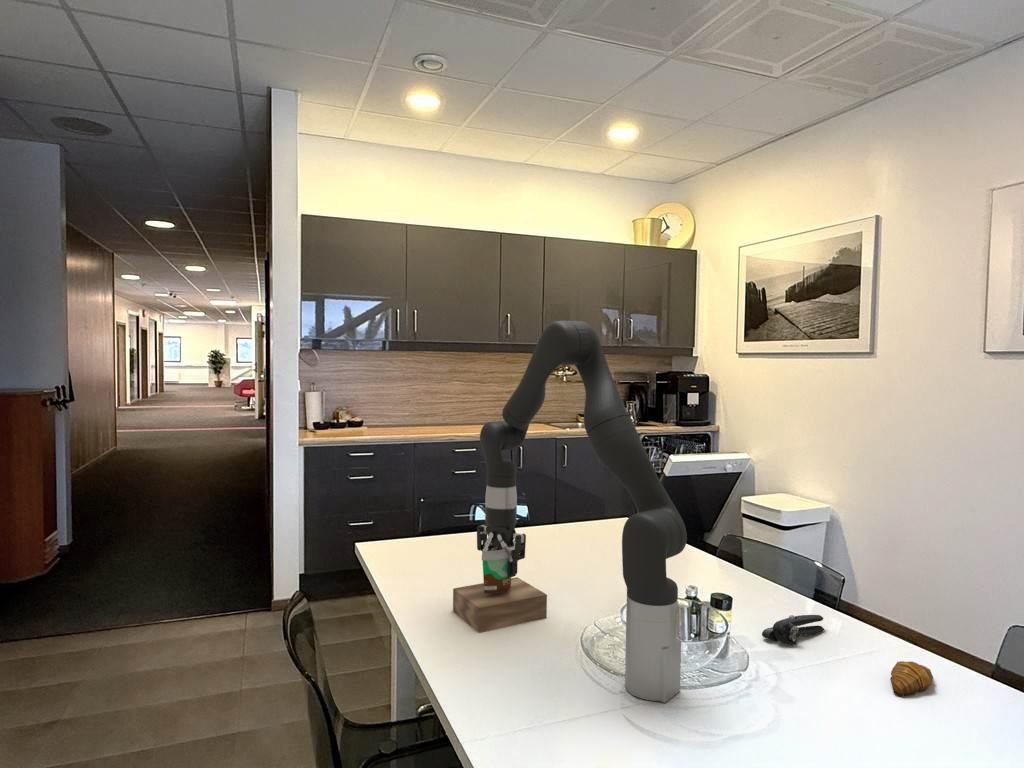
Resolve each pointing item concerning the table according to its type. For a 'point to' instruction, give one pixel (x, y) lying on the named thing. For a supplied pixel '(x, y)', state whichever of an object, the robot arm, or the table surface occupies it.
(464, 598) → the brown wooden block
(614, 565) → the table surface
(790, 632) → the can opener
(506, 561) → the half-round tin
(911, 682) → the croissant
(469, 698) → the table surface
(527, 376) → the robot arm
